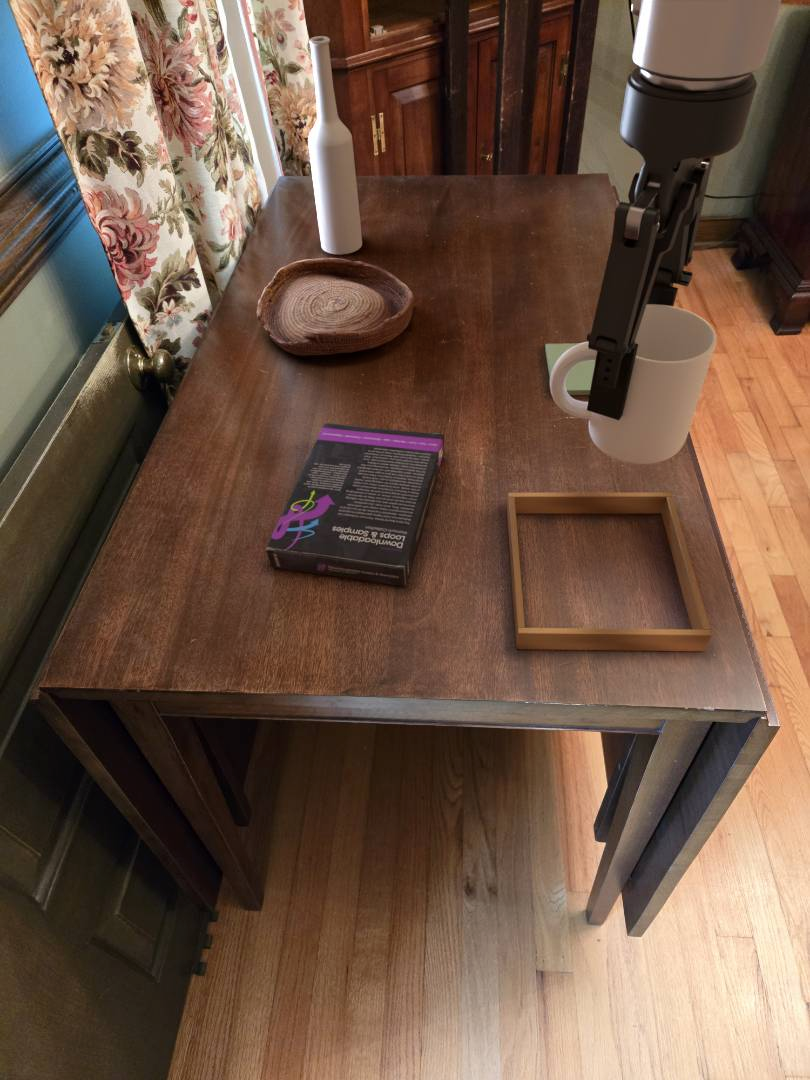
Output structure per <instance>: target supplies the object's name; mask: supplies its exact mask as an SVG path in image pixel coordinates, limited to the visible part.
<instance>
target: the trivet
mask: <svg viewBox="0 0 810 1080" xmlns="http://www.w3.org/2000/svg"><path fill="white" fill-rule="evenodd" d="M580 343H581V342H577V343H574V342H573V343H567V342H566V343H545V345H544V346H545V348H544V349H545V356H546V363H547V364H546V365H547V369H548V370H547V371H548V376H549V378H550V377H551V373H552V370H553V367H554V365H555V364H556V362H557V360H558V359H559V358H560V356H561V355H562V354H563V353H564V352H566V351H567V350H568V349H570V348H571V347H573V346H575V345H577V344H580ZM595 361H596V360H586V361H582V362H579V363H578V364H576V365H575V366H574V367H572V369H571V370H570V371H569V373H568V375H567V377H566V390H567V392H568V394H569V395H570V396H589V395H590V389H591V383H592V378H593V372H594V366H595Z"/></svg>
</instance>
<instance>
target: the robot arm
mask: <svg viewBox="0 0 810 1080" xmlns="http://www.w3.org/2000/svg"><path fill="white" fill-rule="evenodd" d="M781 4H782V0H633V1H632V3H631V5H630V6H631V7H630V12H631V13H632V15H634V16H636V17H638V20H637V26H636V28H635V29H636V30H635V35H634V41H633V48H632V53H631V59H632V61H633V63H634V65H636V67H635V68H634V69H633V71H632V72H631V73H630V74H628V76H627V80H626V85H625V90H624V91H625V92H624V99H623V104H622V110H621V116H620V122H619V123H620V124H619V135H620V138H621V140H622V141H623V143H624V144H625V145H627V146H628V147H629V148H630V149H633V150H636V151H637V152H638V153H639V155H641V157H642V158H643V164H642V165H641V167H640V171H639V172H635V174H634V175H633V177H632V180H631V183H630V187H629V191H628V195H627V198H628V201H629V202H626V201H620V202H618V205H617V206H616V208H615V211H614V220H613V227H612V228H613V229H612V237H611V243H610V248H609V252H608V257H607V260H606V261H607V262H606V265H605V269H604V274H603V277H602V278H603V279H602V283H601V286H600V287H601V288H600V292H599V296H598V301H597V304H596V309H595V314H594V318H593V323H592V327H591V332H589V333H587V334H586V342H587V341H588V343H589V344H588V348H589V349H592V350H595V351H597V355H596V361H595V366H594V372H593V378H592V383H591V389H590V395H588V400H587V402H588V406H587V410H588V411H591V412H594V413H597V414H600V415H603V416H606V417H610V418H613V419H616V420H620V418H621V417H622V415H623V411H624V406H625V402H626V397H627V393H628V388H629V384H630V380H631V375H632V371H633V366H634V362H635V357H636V353H637V348H638V344H636V343H635V339H636V336H637V333H638V330H639V327H640V323H641V320H642V317H643V314H644V311H645V308H646V305H648V304H657V305H668V306H674V307H675V302H676V298H677V295H678V292H679V291H678V290H679V287H676V286H674V284H675V285H679V286H684V287H688V286H689V285H690V283H691V280H692V277H693V275H694V272H692V271H687V270H684V269H685V267H688V266H689V265H690V264H691V262H692V260H693V252H694V247H695V244H696V238H697V233H698V230H699V229H698V228H699V225H700V221H701V215H702V212H703V207H704V203H705V198H706V197H705V196H706V192H707V188H708V183H709V179H710V175H711V171H712V166H713V163H714V160H715V158H716V157H718V156H722V155H724V154H727V153H728V152H730V151H732V150H733V149H735V147H737V146H738V145H739V143H740V142H741V141H742V139H743V136H744V134H745V133H744V132H745V129H746V125H747V122H748V119H749V115H750V112H751V107H752V104H753V101H754V97H755V93H756V90H757V86H758V82H757V79H756V77H755V75H754V73H755V72H756V71H757V70H759V69H760V68H761V67H763V65H764V64H765V63H766V58H767V55H768V51H769V48H770V44H771V41H772V37H773V33H774V29H775V26H776V22H777V19H778V15H779V12H780V11H779V10H780V8H781Z"/></svg>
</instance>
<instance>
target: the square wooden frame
mask: <svg viewBox="0 0 810 1080" xmlns="http://www.w3.org/2000/svg"><path fill="white" fill-rule="evenodd" d="M517 514H566V515H567V514H570V515H571V514H581V515H582V514H583V515H584V514H591V515H592V514H594V515H596V514H597V515H599V514H601V515H602V514H609V515H611V514H612V515H613V514H614V515H616V514H619V515H620V514H622V515H623V514H629V515H630V514H631V515H633V514H635V515H636V514H637V515H639V514H640V515H641V514H643V515H644V514H647V515H649V514H652V515H653V514H654V515H655V514H656V515H657V514H660V515H661V518H662V521H663V525H664V530H665V534H666V537H667V540H668V545H669V548H670V552H671V556H672V559H673V563H674V567H675V570H676V574H677V578H678V583H679V586H680V589H681V594H682V597H683V601H684V604H685V605H684V606H685V608H686V612H687V616H688V619H689V623H690V627H691V629H681V628H680V629H679V628H678V629H677V628H675V629H673V628H670V629H669V628H596V627H595V628H585V627H584V628H583V627H578V628H577V627H526V624H525V611H524V599H523V598H524V597H523V586H522V575H521V574H522V573H521V562H520V548H519V537H518V536H519V535H518V525H517V524H518V523H517ZM506 517H507V518H506V519H507V530H508V546H509V562H510V573H511V574H510V577H511V590H512V591H511V593H512V605H513V617H514V618H513V620H514V634H515V635H514V636H515V648H516V650H559V651H560V650H563V651H564V650H565V651H566V650H568V651H637V652H639V651H640V652H641V651H642V652H643V651H645V652H647V651H648V652H705V651H706V649H707V647H708V644H709V643H710V640H711V639H712V636H713V633H712V630H711V627H710V623H709V620H708V616H707V613H706V609H705V606H704V603H703V598H702V595H701V591H700V588H699V585H698V581H697V578H696V574H695V570H694V568H693V564H692V560H691V557H690V553H689V549H688V546H687V543H686V539H685V536H684V532H683V529H682V526H681V521H680V518H679V515H678V511H677V508H676V504H675V500H674V498H673V493H672V492H508V493H507V503H506Z"/></svg>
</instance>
